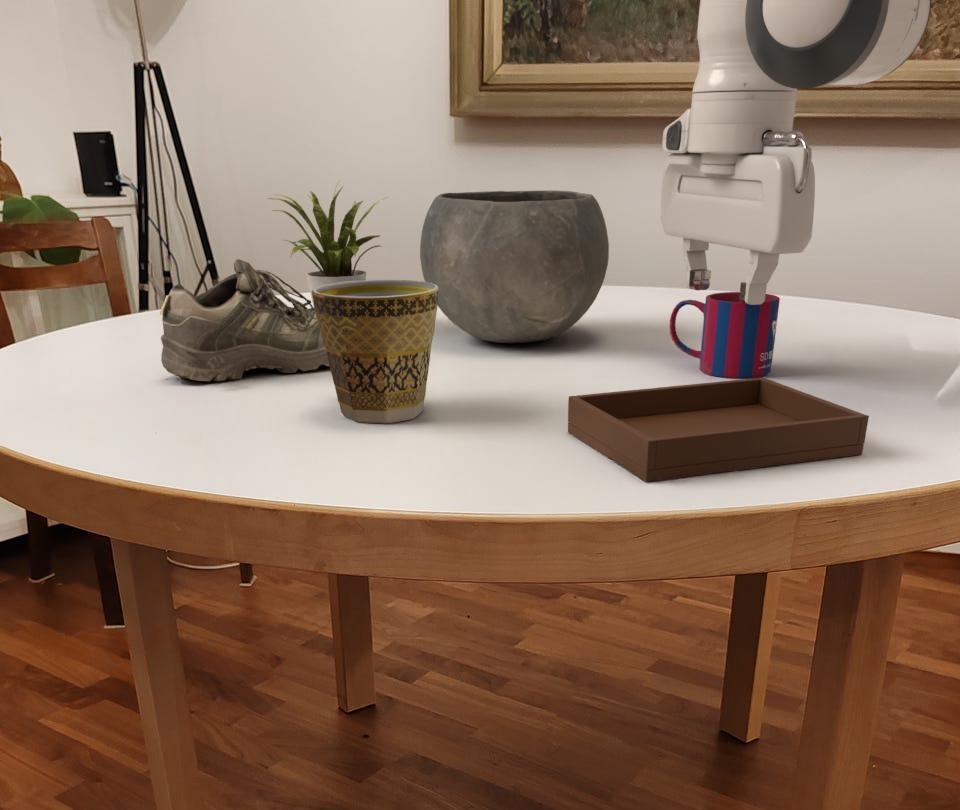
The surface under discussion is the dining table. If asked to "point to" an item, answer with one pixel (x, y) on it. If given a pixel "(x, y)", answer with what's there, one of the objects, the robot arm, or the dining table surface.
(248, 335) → the hiking shoe
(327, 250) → the house plant
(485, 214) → the bowl
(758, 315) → the cup
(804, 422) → the tray
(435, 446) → the dining table surface
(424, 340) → the ceramic cup
